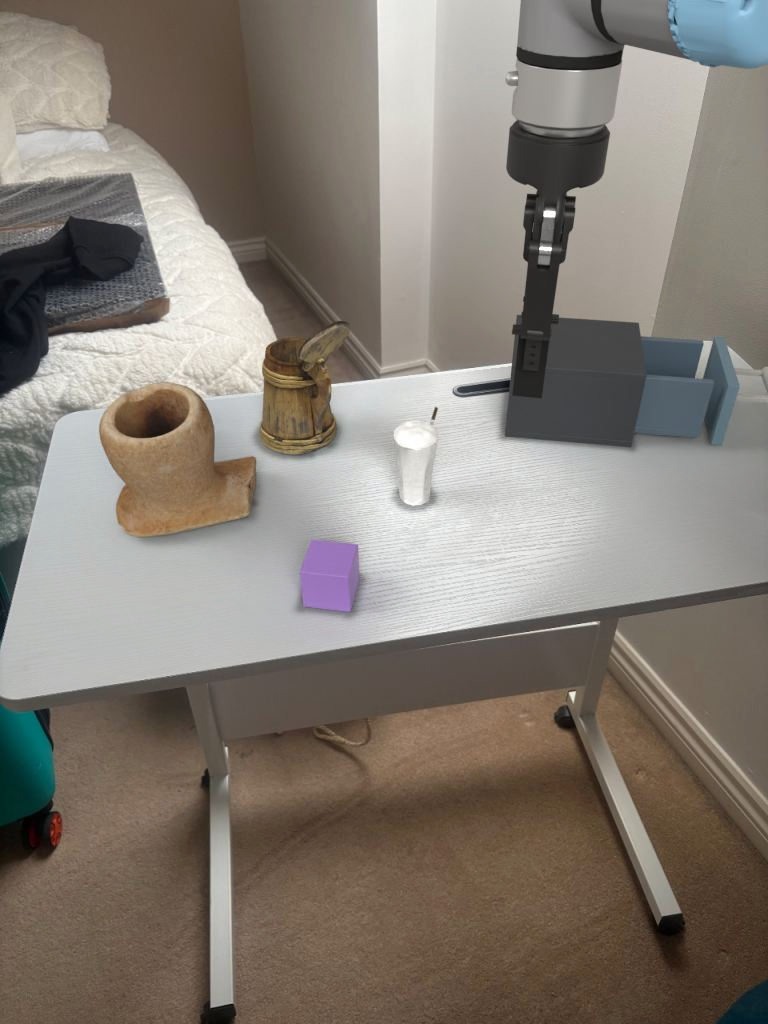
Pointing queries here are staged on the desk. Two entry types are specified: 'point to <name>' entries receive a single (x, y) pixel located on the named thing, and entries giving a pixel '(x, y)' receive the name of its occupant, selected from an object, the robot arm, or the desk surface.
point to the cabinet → (584, 385)
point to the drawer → (690, 388)
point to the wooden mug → (300, 391)
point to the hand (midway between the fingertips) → (527, 392)
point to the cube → (330, 575)
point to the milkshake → (415, 459)
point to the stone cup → (171, 463)
